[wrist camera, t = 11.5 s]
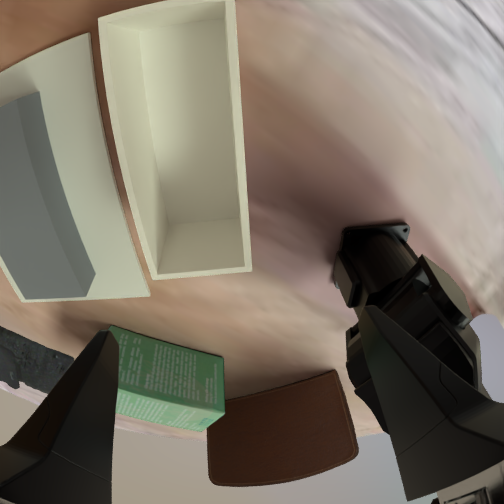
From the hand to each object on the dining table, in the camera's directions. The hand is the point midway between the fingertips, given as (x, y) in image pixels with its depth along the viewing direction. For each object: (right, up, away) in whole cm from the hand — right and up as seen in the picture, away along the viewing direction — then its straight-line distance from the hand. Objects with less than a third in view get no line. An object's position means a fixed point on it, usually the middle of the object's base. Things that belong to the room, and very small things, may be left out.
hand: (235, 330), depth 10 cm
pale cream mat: (-17, +7, +9) cm, 21 cm away
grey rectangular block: (-17, +7, +9) cm, 20 cm away
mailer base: (-3, +11, +8) cm, 14 cm away
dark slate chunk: (-34, -13, +23) cm, 43 cm away
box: (-10, -9, +22) cm, 26 cm away
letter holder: (+4, -20, +32) cm, 38 cm away
